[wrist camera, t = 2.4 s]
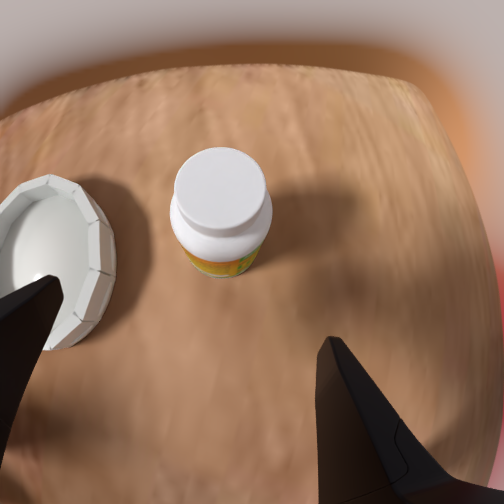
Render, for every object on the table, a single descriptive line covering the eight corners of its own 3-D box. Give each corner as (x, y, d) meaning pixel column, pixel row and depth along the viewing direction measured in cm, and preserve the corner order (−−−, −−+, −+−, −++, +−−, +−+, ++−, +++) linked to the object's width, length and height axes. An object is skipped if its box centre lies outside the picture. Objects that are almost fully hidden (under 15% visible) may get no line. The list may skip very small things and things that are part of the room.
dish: (150, 282, 20) (138, 276, 17) (38, 378, 17) (18, 383, 14) (75, 161, 22) (61, 144, 19) (-16, 253, 19) (-34, 246, 16)
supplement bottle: (243, 290, 21) (259, 266, 11) (174, 264, 21) (136, 220, 11) (267, 223, 22) (297, 156, 12) (202, 200, 22) (190, 121, 12)
